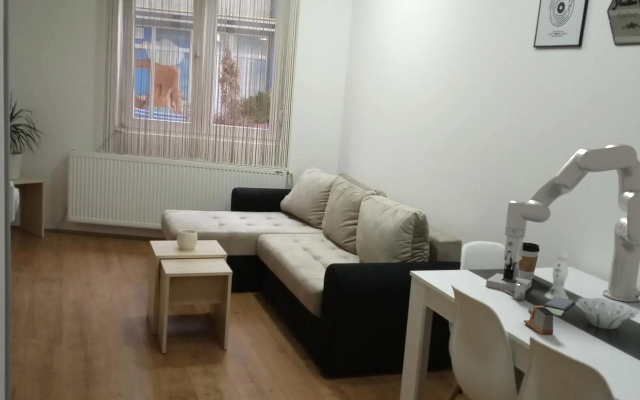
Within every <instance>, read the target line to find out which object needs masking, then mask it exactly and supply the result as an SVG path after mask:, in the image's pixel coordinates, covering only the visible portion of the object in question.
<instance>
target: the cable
mask: <svg viewBox="0 0 640 400" xmlns="http://www.w3.org/2000/svg"><path fill="white" fill-rule="evenodd" d="M501 292H503V293H505V294H507V295H509V296H511V297H513V298H514V292H510V291H507V290H505V289H502V290H501Z"/></svg>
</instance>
